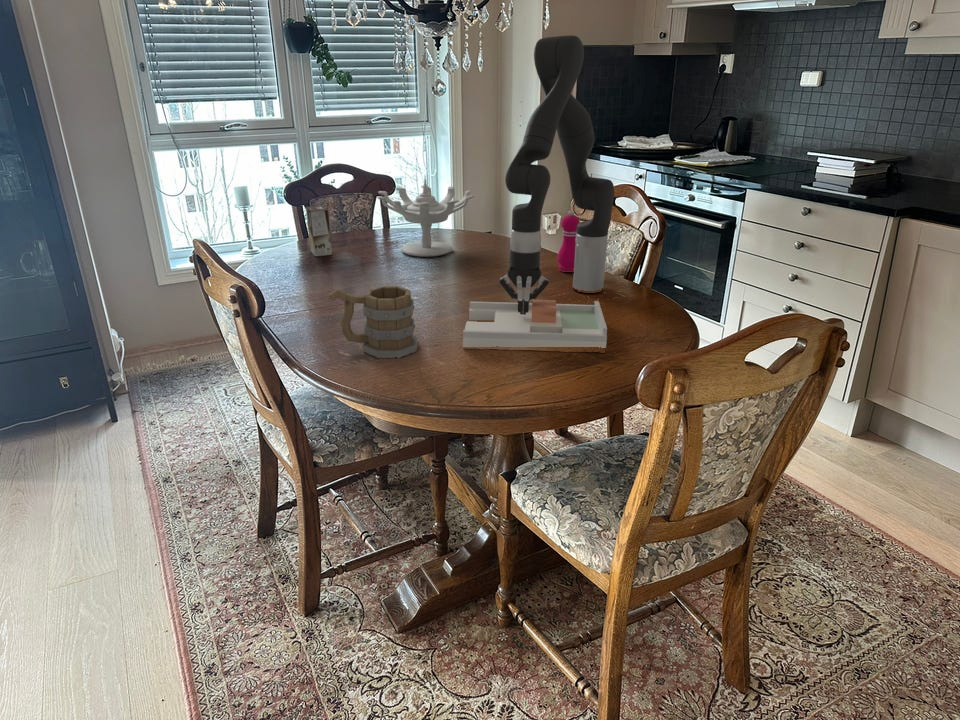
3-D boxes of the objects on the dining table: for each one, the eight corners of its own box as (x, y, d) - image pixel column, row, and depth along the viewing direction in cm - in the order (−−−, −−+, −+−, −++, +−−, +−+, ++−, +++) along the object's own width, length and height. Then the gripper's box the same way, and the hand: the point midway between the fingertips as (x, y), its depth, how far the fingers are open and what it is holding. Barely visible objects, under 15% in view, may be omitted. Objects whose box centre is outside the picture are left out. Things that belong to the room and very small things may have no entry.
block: (531, 314, 172) (532, 299, 170) (554, 314, 171) (555, 300, 170) (531, 322, 166) (532, 307, 164) (555, 322, 166) (556, 308, 164)
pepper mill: (561, 274, 215) (565, 213, 207) (553, 268, 221) (556, 208, 213) (581, 273, 217) (586, 212, 208) (573, 267, 223) (577, 207, 215)
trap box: (470, 317, 178) (470, 296, 175) (596, 320, 176) (598, 299, 173) (462, 349, 158) (462, 325, 155) (605, 353, 156) (607, 330, 153)
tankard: (418, 337, 164) (416, 280, 158) (415, 358, 152) (413, 297, 146) (338, 338, 163) (333, 280, 157) (329, 359, 152) (323, 297, 146)
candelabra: (383, 267, 221) (378, 184, 210) (377, 242, 252) (373, 169, 241) (482, 262, 227) (482, 182, 216) (464, 238, 259) (464, 167, 247)
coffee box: (332, 254, 235) (328, 209, 228) (314, 256, 232) (310, 211, 226) (326, 248, 242) (322, 205, 236) (309, 250, 240) (304, 206, 233)
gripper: (551, 244, 165) (548, 309, 172) (499, 243, 166) (497, 308, 173) (552, 252, 158) (548, 319, 165) (497, 250, 159) (496, 317, 166)
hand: (522, 313), depth 169 cm, fingers closed
